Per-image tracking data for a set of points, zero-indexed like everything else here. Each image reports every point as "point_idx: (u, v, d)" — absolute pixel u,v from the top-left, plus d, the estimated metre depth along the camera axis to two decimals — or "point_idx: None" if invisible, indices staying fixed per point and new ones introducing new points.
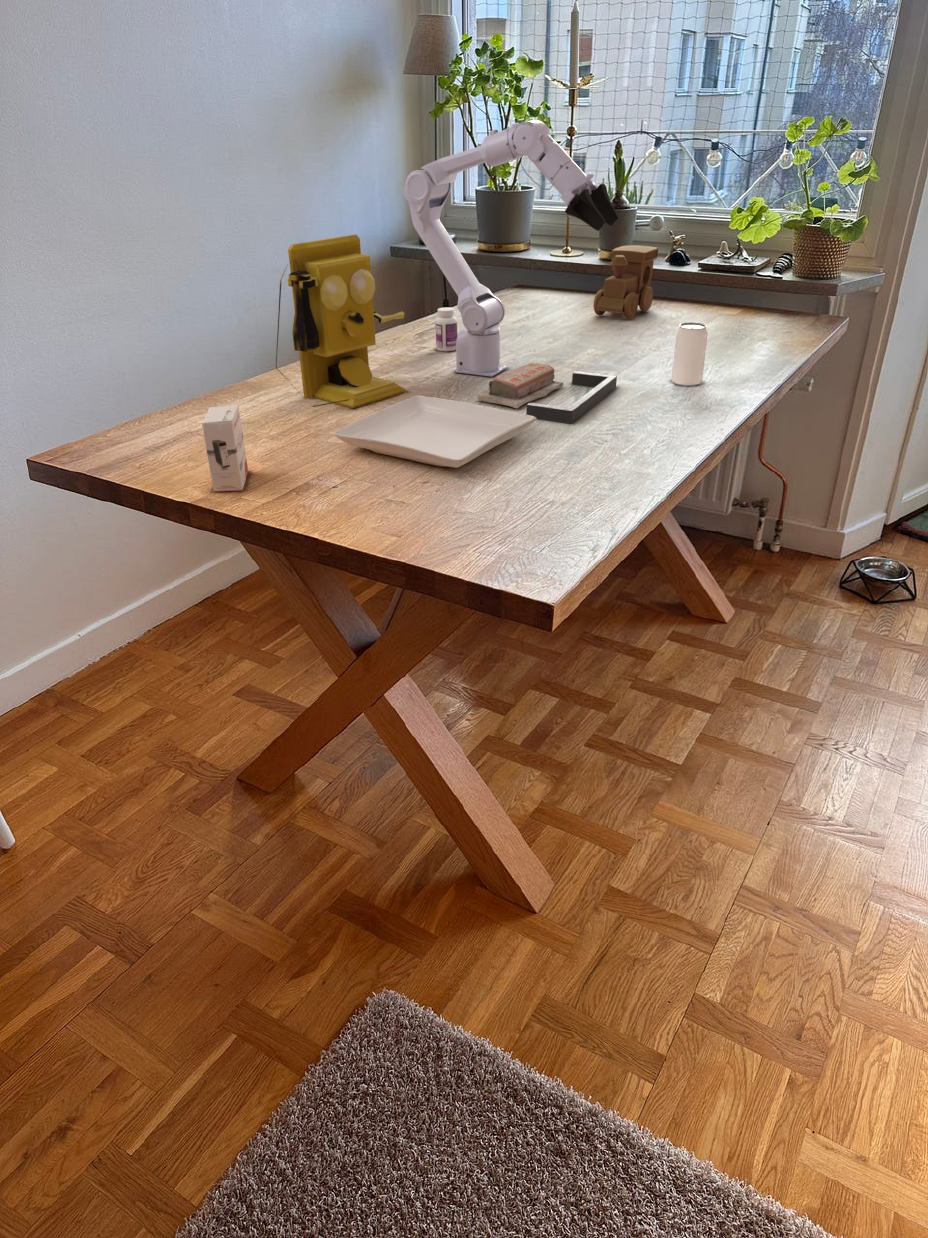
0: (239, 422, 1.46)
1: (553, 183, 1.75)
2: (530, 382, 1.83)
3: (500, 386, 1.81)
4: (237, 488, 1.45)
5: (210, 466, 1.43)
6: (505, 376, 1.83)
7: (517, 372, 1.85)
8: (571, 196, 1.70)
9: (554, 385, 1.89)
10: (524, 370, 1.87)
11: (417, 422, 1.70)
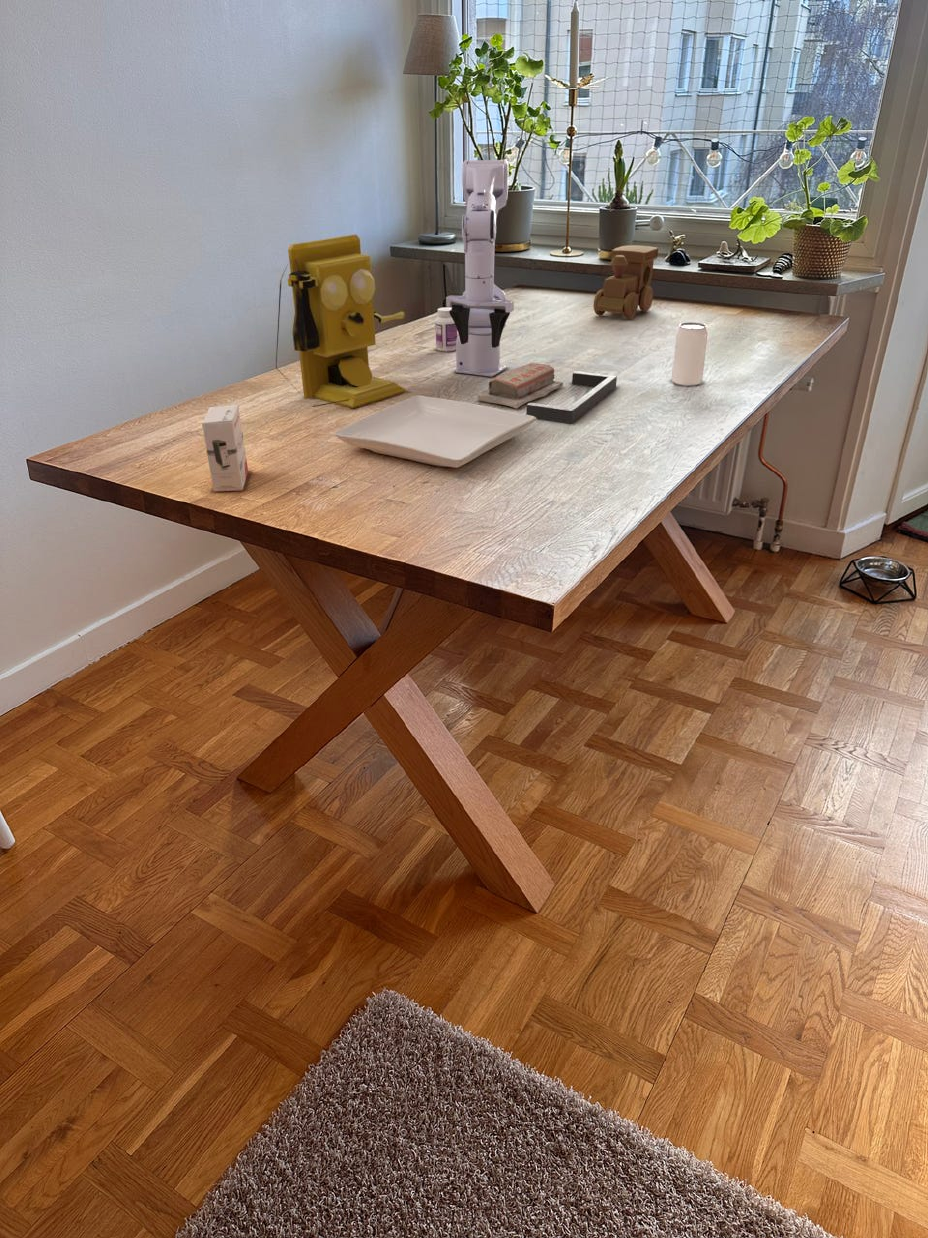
0: (239, 422, 1.46)
1: None
2: (530, 382, 1.83)
3: (500, 386, 1.81)
4: (237, 488, 1.45)
5: (210, 466, 1.43)
6: (505, 376, 1.83)
7: (517, 372, 1.85)
8: None
9: (554, 385, 1.89)
10: (524, 370, 1.87)
11: (417, 422, 1.70)
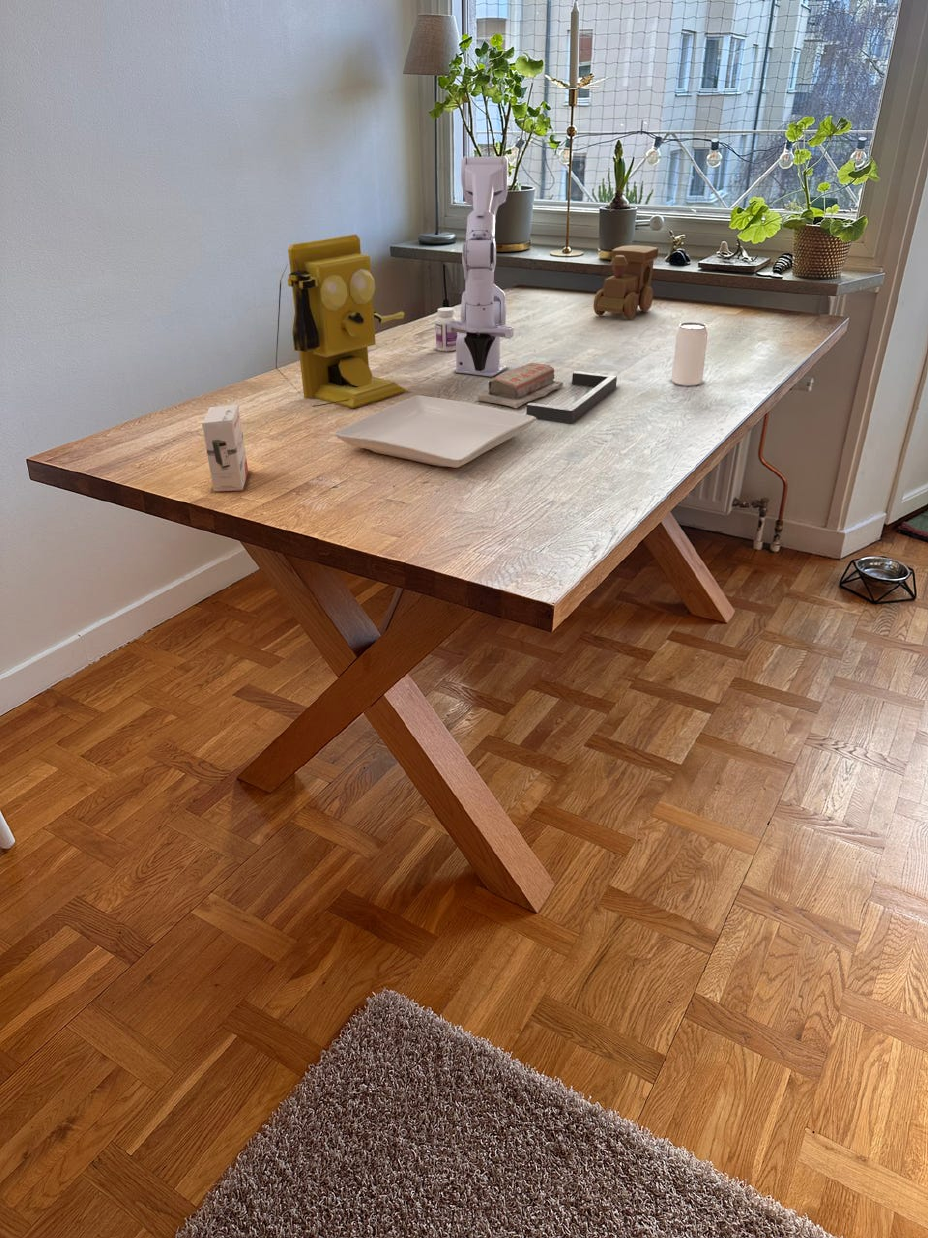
0: (239, 422, 1.46)
1: None
2: (530, 382, 1.83)
3: (500, 386, 1.81)
4: (237, 488, 1.45)
5: (210, 466, 1.43)
6: (505, 376, 1.83)
7: (517, 372, 1.85)
8: None
9: (554, 385, 1.89)
10: (524, 370, 1.87)
11: (417, 422, 1.70)
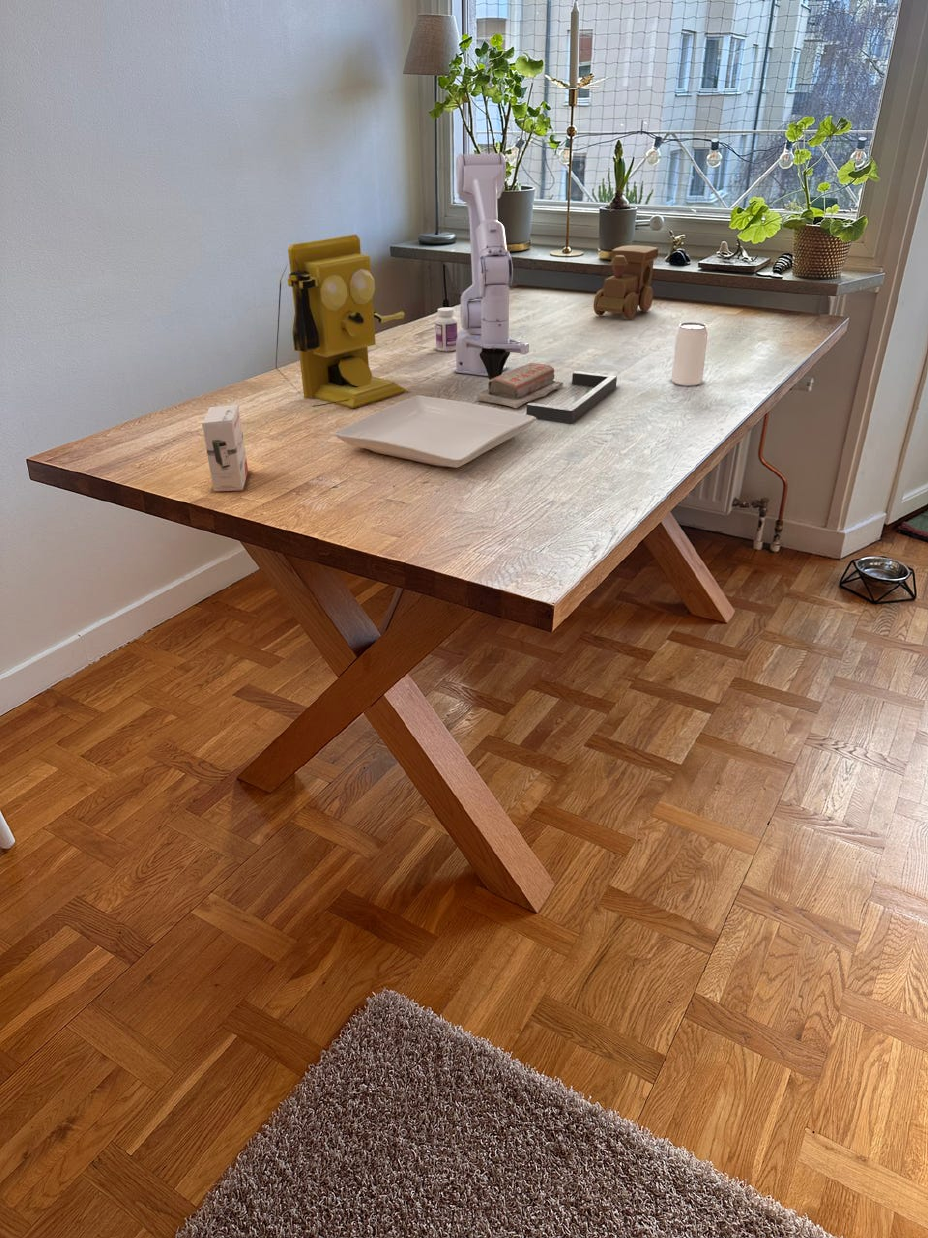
0: (239, 422, 1.46)
1: None
2: (530, 382, 1.83)
3: (500, 386, 1.81)
4: (237, 488, 1.45)
5: (210, 466, 1.43)
6: (504, 376, 1.83)
7: (516, 372, 1.85)
8: None
9: (554, 385, 1.89)
10: (524, 370, 1.87)
11: (417, 422, 1.70)
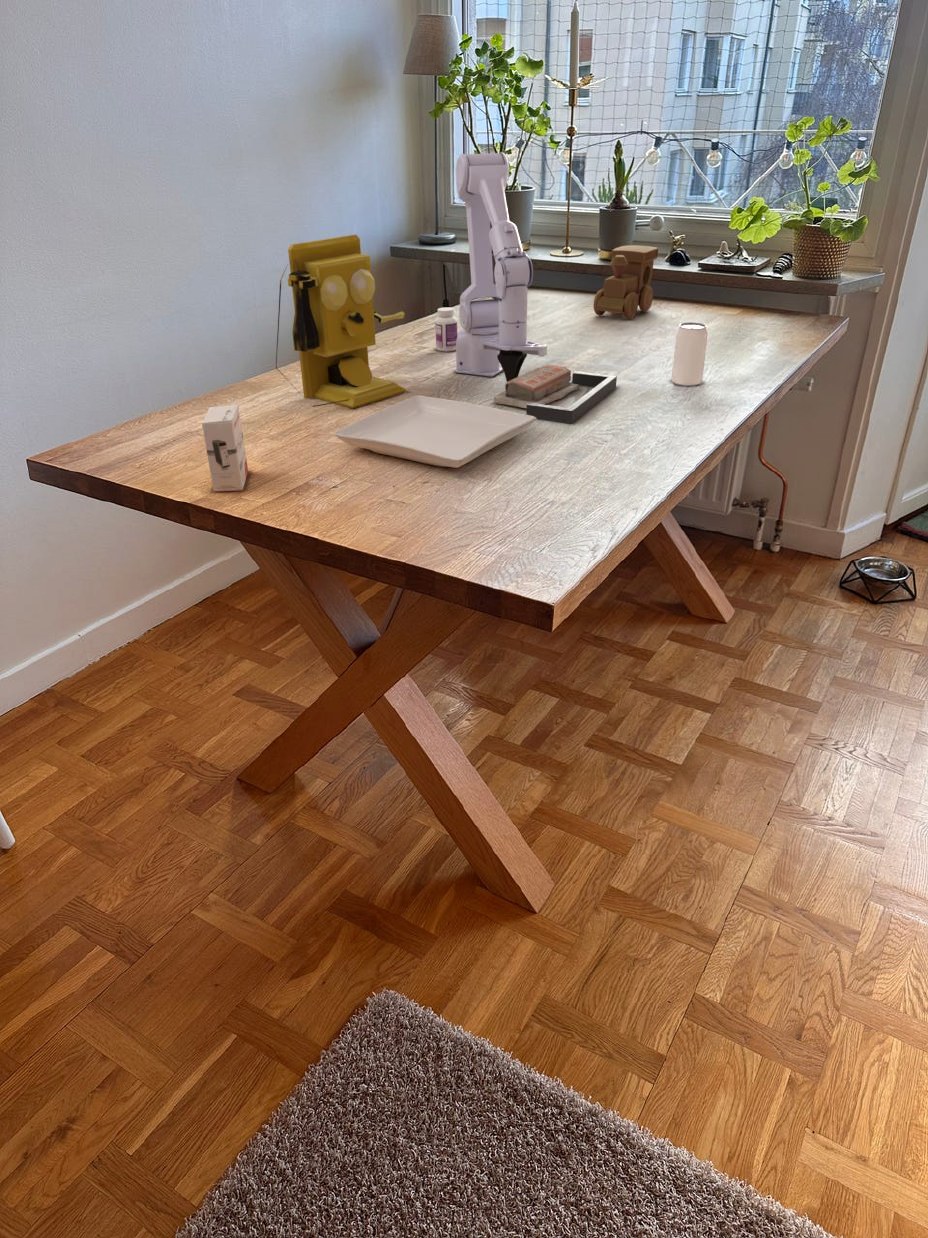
0: (239, 422, 1.46)
1: None
2: (547, 385, 1.81)
3: (517, 389, 1.80)
4: (237, 488, 1.45)
5: (210, 466, 1.43)
6: (521, 378, 1.81)
7: (533, 374, 1.84)
8: None
9: (570, 387, 1.88)
10: (540, 372, 1.85)
11: (417, 422, 1.70)
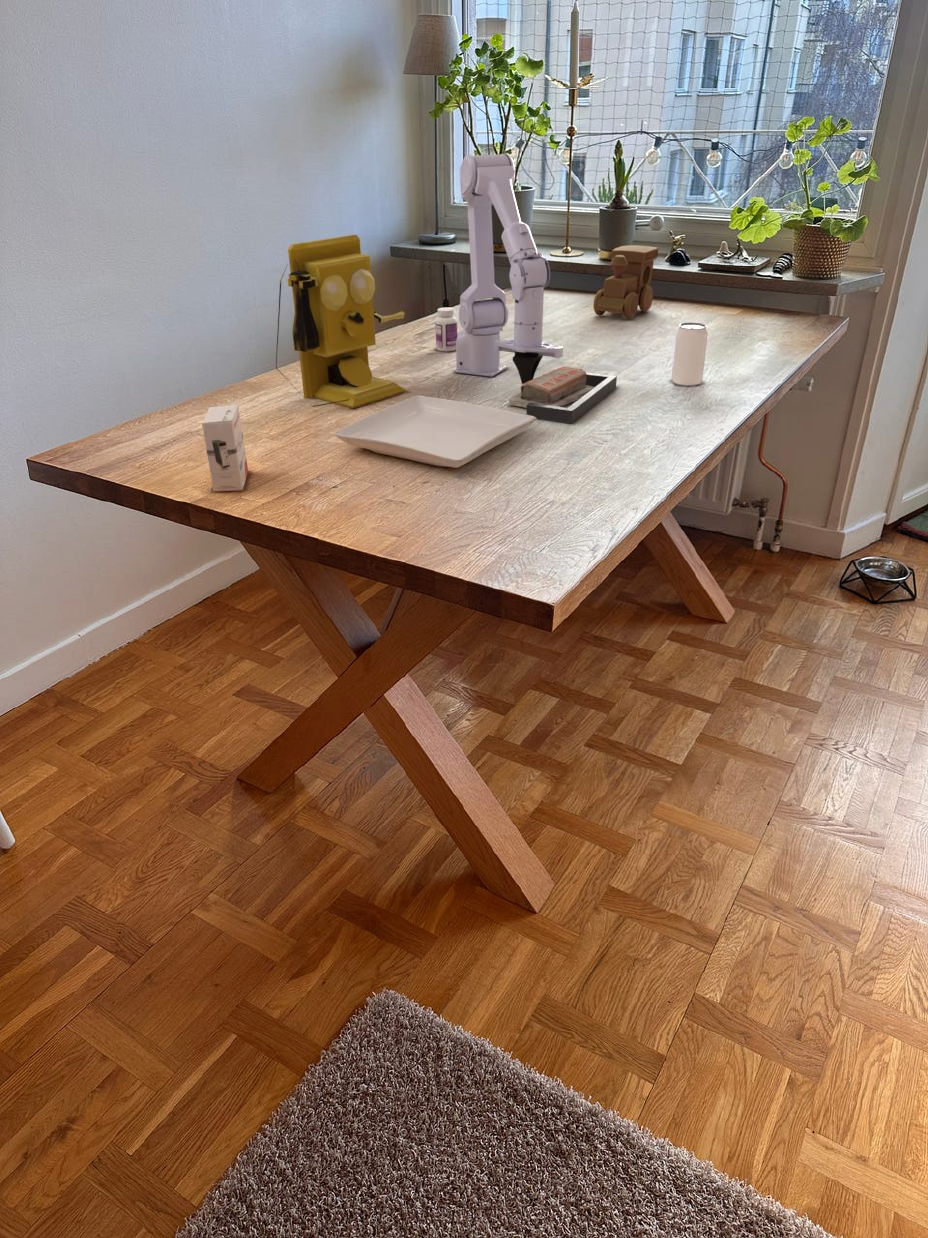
0: (239, 422, 1.46)
1: None
2: (563, 387, 1.80)
3: (532, 391, 1.78)
4: (237, 488, 1.45)
5: (210, 466, 1.43)
6: (537, 380, 1.80)
7: (549, 376, 1.82)
8: None
9: (586, 389, 1.86)
10: (556, 374, 1.84)
11: (417, 422, 1.70)
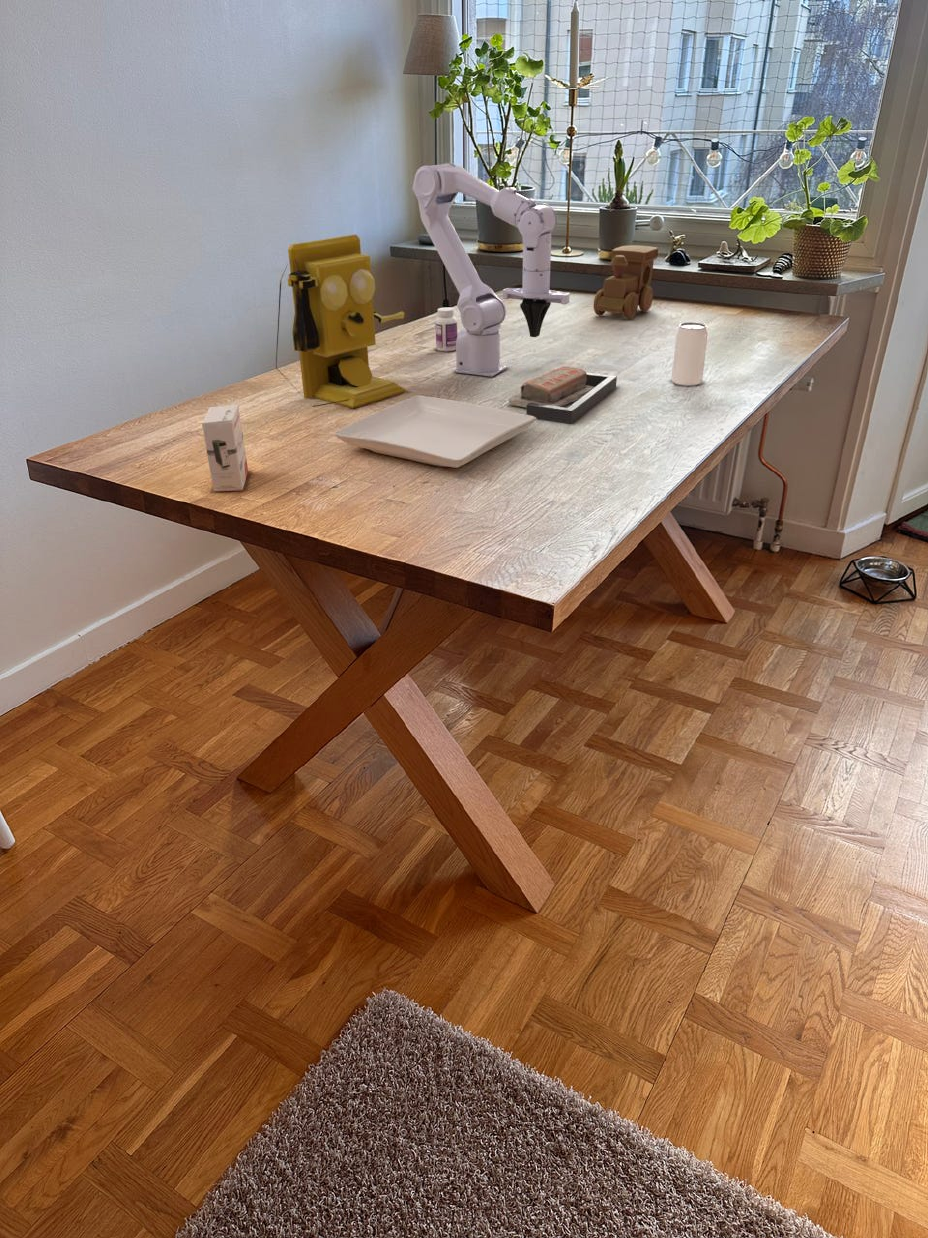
0: (239, 422, 1.46)
1: None
2: (563, 387, 1.80)
3: (533, 391, 1.78)
4: (237, 488, 1.45)
5: (210, 466, 1.43)
6: (537, 380, 1.80)
7: (549, 376, 1.82)
8: None
9: (586, 389, 1.86)
10: (556, 374, 1.84)
11: (417, 422, 1.70)
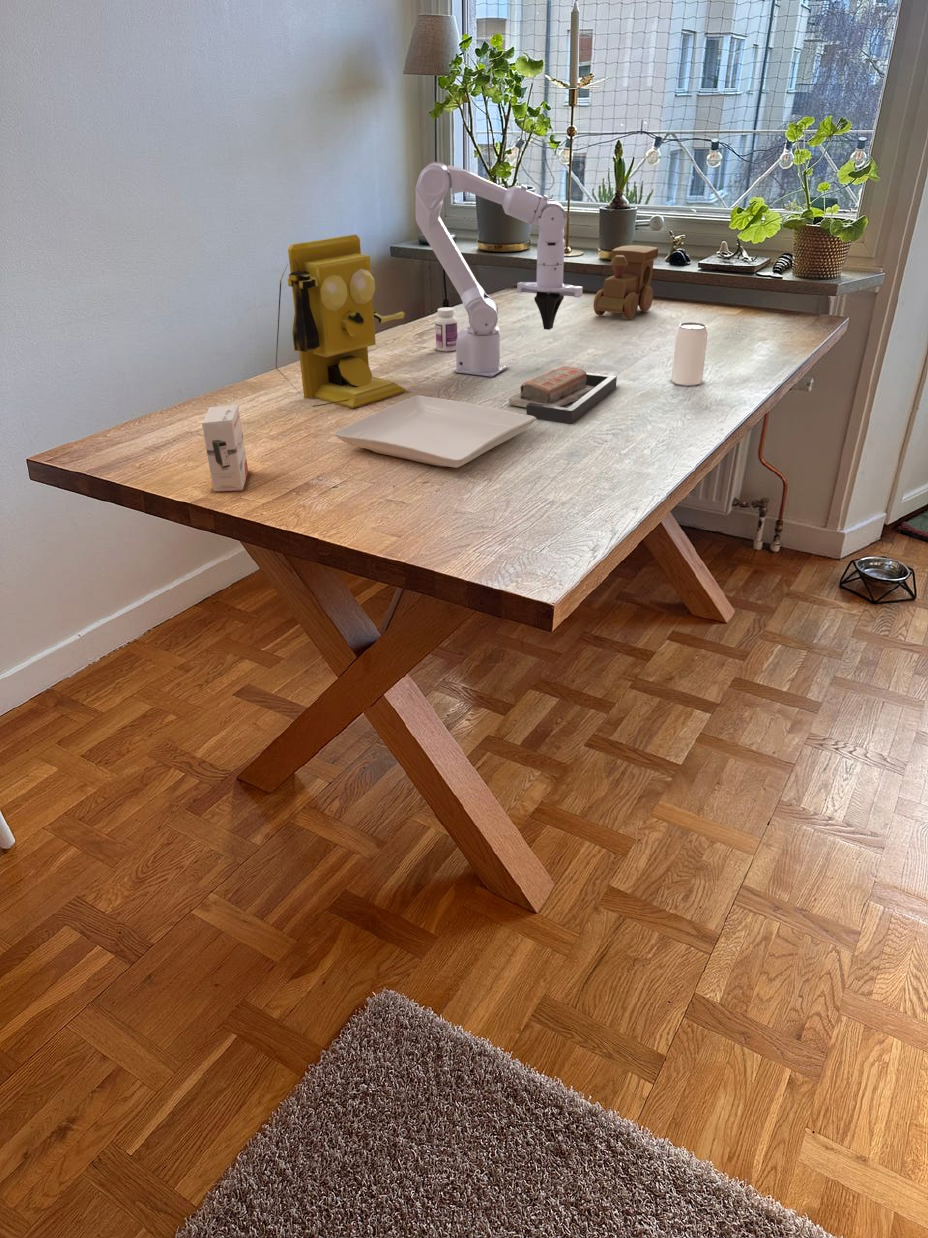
0: (239, 422, 1.46)
1: None
2: (563, 387, 1.80)
3: (532, 390, 1.78)
4: (237, 488, 1.45)
5: (210, 466, 1.43)
6: (537, 380, 1.80)
7: (549, 376, 1.82)
8: None
9: (586, 389, 1.86)
10: (556, 374, 1.84)
11: (417, 422, 1.70)
